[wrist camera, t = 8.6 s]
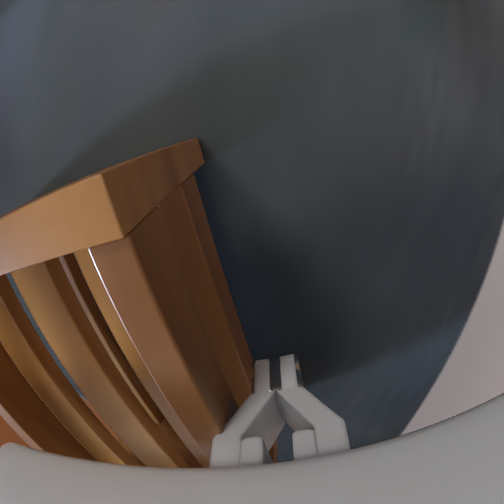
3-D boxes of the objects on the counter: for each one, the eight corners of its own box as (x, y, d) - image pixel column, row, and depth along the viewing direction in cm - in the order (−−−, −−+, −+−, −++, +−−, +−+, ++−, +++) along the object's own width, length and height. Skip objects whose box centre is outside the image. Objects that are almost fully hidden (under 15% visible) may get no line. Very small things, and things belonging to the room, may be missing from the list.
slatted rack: (197, 137, 13) (100, 172, 5) (275, 397, 19) (280, 523, 11) (30, 200, 14) (-92, 275, 6) (139, 409, 20) (107, 512, 12)
